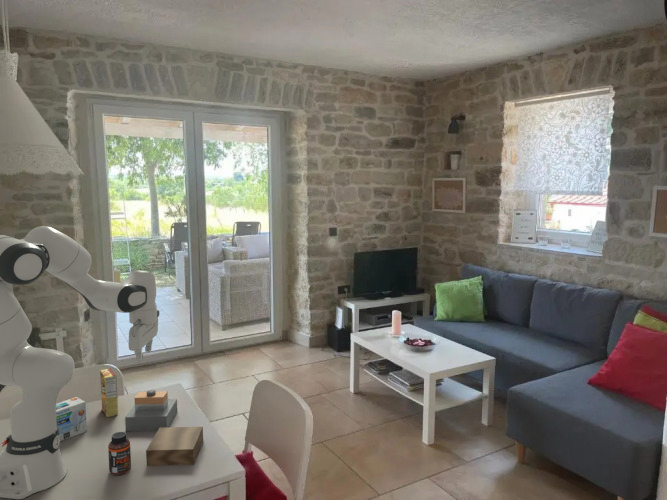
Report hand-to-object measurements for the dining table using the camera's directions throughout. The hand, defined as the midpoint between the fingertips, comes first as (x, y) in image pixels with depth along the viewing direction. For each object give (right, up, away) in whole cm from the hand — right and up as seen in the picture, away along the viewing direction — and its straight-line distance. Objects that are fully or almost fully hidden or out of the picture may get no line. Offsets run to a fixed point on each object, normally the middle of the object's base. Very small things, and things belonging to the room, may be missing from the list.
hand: (144, 355), depth 168 cm
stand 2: (+16, -28, -14) cm, 35 cm away
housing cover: (0, -18, +6) cm, 18 cm away
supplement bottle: (+2, -29, -24) cm, 38 cm away
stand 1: (+1, -25, +7) cm, 26 cm away
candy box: (-18, -24, +14) cm, 33 cm away
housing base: (0, -20, +6) cm, 21 cm away
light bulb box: (-25, -26, -3) cm, 36 cm away
